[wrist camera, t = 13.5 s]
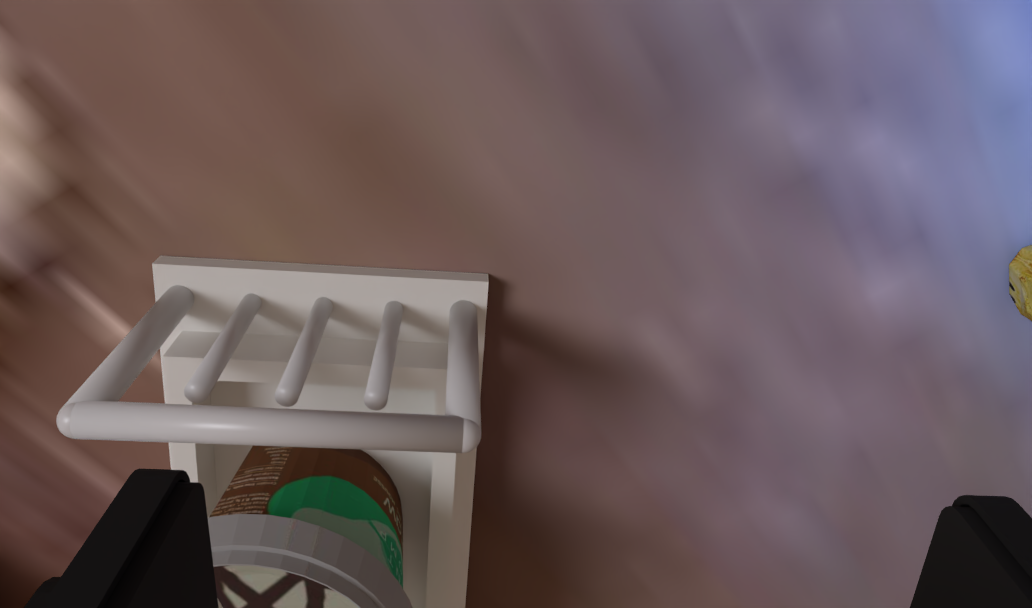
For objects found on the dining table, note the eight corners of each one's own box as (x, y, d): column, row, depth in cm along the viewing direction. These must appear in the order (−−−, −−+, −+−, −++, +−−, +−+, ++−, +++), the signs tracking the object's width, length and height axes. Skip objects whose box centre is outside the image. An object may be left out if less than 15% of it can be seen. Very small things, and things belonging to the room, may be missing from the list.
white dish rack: (488, 273, 37) (497, 404, 26) (458, 682, 46) (456, 903, 35) (160, 255, 35) (28, 384, 25) (197, 678, 45) (112, 905, 34)
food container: (463, 577, 42) (462, 753, 32) (348, 611, 42) (315, 795, 33) (371, 370, 37) (340, 507, 28) (243, 411, 37) (170, 559, 28)
